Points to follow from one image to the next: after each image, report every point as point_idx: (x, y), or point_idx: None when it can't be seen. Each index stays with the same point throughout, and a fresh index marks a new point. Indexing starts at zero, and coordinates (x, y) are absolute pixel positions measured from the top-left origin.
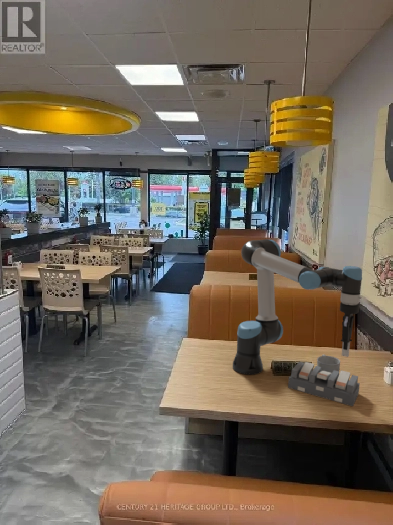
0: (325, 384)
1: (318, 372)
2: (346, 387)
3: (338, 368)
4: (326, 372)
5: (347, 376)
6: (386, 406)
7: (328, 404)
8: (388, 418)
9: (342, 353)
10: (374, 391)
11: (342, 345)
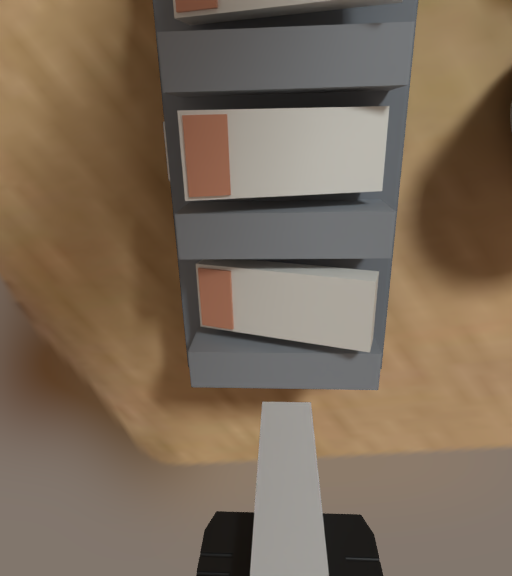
0: None
1: (300, 89)
2: None
3: None
4: (345, 155)
5: (314, 335)
6: None
7: (134, 221)
8: (197, 463)
9: (261, 433)
10: (445, 395)
11: (253, 541)
